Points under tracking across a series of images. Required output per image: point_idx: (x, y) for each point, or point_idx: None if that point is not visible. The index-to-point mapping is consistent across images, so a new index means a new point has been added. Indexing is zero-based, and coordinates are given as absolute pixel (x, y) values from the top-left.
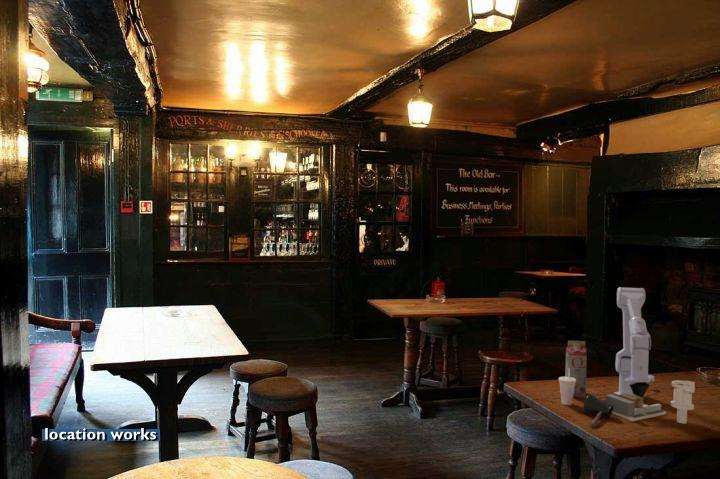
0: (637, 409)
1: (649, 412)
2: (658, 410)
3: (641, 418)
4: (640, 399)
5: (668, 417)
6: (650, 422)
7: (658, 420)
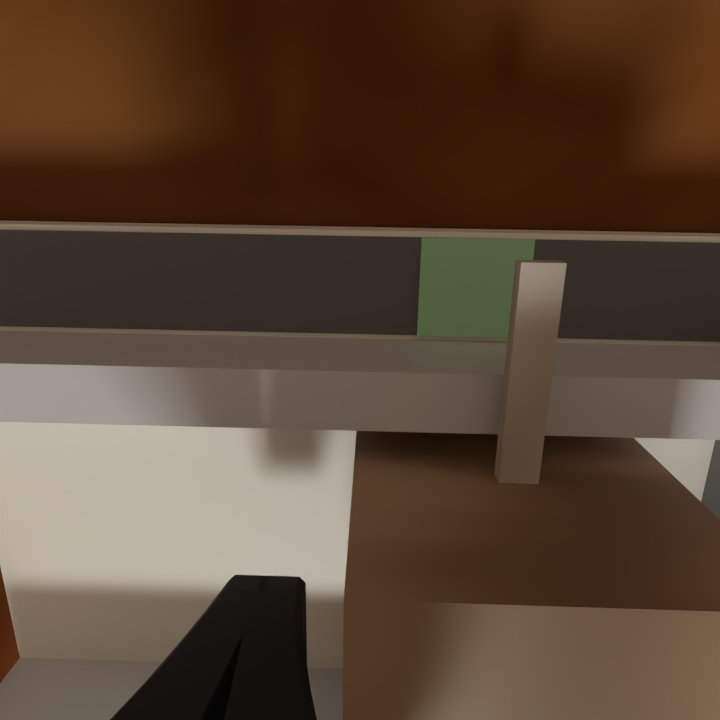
0: (668, 376)
1: (297, 318)
2: (32, 315)
3: (639, 232)
4: (470, 568)
5: (53, 77)
6: (639, 41)
7: (387, 48)
